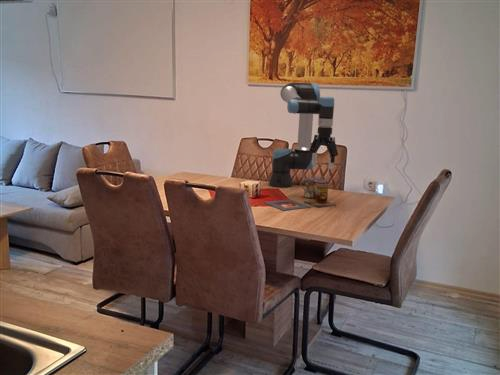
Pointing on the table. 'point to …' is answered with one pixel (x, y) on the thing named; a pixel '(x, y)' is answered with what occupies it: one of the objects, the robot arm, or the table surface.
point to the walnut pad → (319, 204)
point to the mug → (308, 187)
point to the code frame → (274, 204)
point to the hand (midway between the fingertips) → (322, 166)
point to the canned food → (320, 191)
